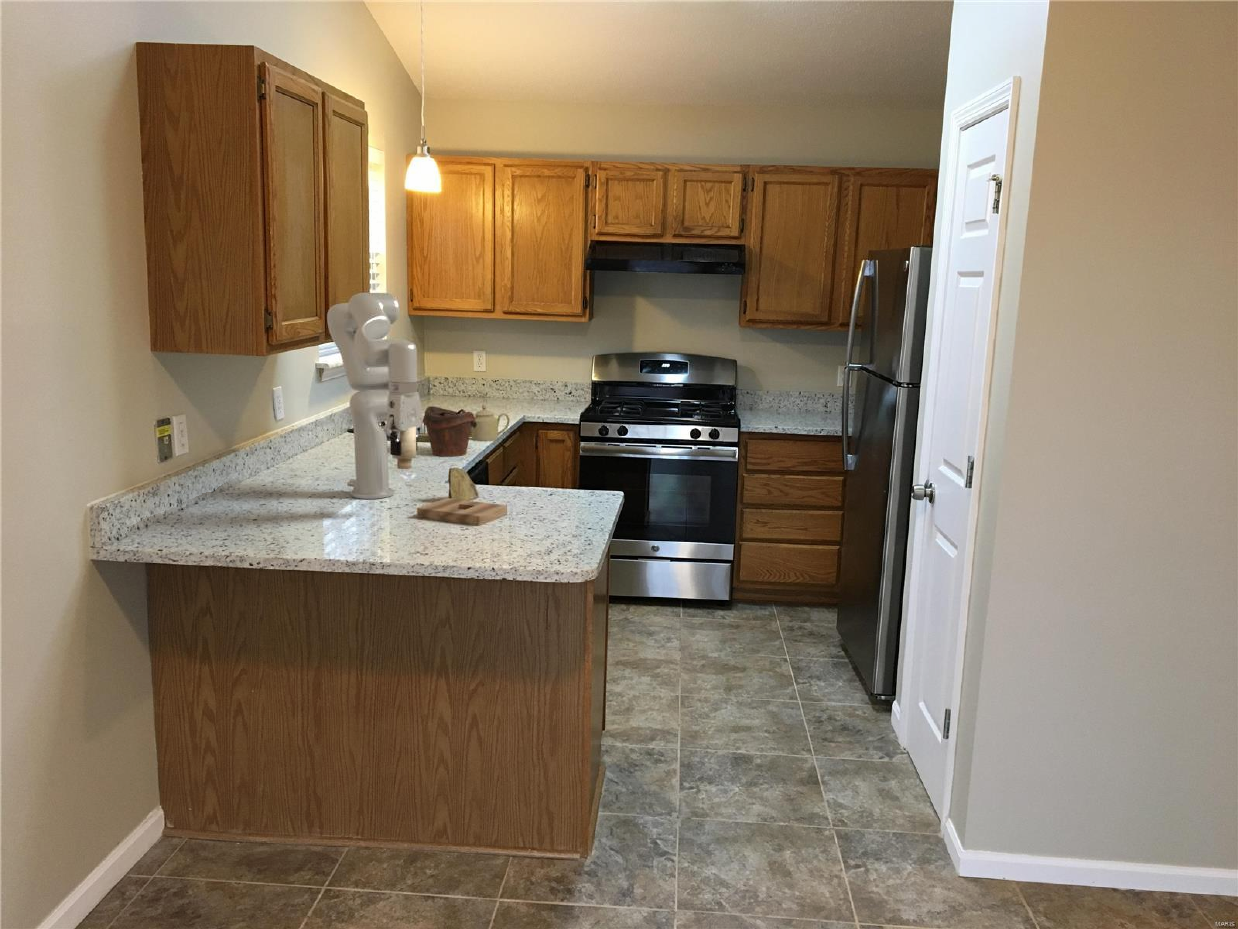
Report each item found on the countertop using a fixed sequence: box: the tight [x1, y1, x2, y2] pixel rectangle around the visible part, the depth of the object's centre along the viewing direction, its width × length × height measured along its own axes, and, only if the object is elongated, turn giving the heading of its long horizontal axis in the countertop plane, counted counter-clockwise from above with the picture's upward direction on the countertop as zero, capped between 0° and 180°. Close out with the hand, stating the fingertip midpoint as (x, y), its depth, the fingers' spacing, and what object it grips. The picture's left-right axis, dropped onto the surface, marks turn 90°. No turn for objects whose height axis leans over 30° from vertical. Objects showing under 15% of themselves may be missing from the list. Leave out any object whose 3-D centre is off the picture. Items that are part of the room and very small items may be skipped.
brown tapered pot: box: [422, 405, 477, 458], centre depth 353 cm, size 18×20×18 cm
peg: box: [391, 427, 417, 470], centre depth 256 cm, size 6×6×12 cm
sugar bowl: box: [471, 403, 511, 442], centre depth 391 cm, size 15×11×15 cm
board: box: [416, 497, 508, 526], centre depth 257 cm, size 20×14×3 cm
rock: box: [447, 467, 480, 501], centre depth 276 cm, size 11×9×10 cm
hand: (404, 452), depth 256 cm, fingers closed on peg, 6 cm apart
